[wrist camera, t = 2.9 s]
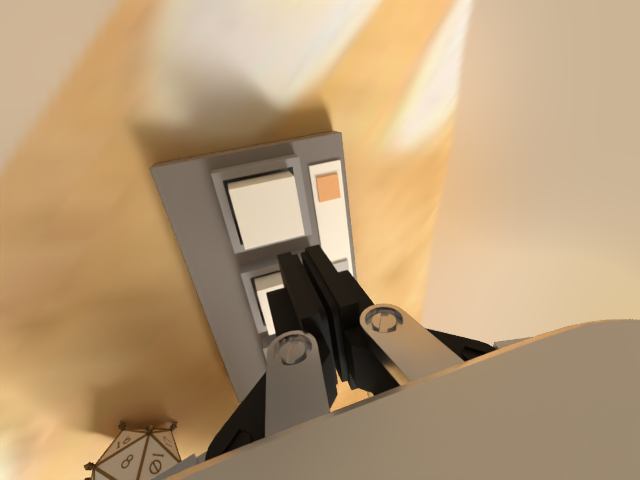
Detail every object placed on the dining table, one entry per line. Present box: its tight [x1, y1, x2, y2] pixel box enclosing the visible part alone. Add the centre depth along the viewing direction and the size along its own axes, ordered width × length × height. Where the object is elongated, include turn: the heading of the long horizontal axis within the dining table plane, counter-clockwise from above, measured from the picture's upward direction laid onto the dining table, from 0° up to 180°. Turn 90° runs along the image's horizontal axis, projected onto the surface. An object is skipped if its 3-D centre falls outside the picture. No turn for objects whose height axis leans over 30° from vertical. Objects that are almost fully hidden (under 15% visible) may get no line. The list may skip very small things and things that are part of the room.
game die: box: [84, 421, 181, 480], centre depth 28 cm, size 9×8×10 cm
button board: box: [149, 131, 357, 402], centre depth 28 cm, size 24×14×4 cm, turn 8°
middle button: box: [254, 272, 284, 335], centre depth 25 cm, size 4×4×2 cm
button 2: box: [228, 171, 305, 250], centre depth 22 cm, size 4×4×2 cm
